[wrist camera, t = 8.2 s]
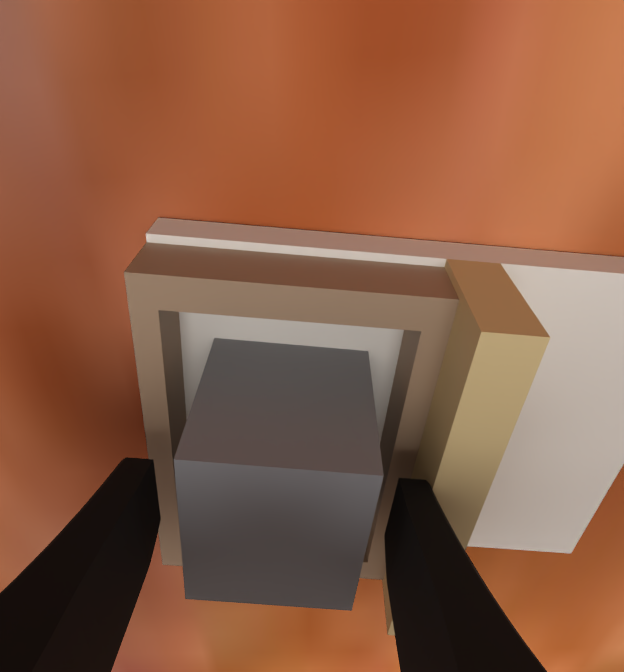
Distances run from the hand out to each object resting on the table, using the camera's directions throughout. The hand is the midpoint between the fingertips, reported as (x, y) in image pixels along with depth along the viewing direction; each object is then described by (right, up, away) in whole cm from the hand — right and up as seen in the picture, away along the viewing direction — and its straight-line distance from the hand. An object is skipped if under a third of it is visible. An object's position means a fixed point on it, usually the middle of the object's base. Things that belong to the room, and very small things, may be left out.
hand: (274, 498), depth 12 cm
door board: (+3, +2, +3) cm, 5 cm away
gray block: (0, +2, +2) cm, 3 cm away
